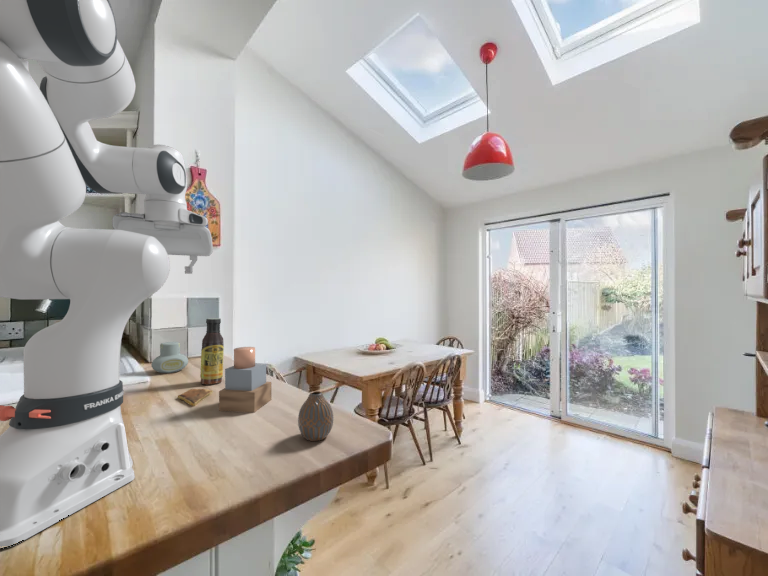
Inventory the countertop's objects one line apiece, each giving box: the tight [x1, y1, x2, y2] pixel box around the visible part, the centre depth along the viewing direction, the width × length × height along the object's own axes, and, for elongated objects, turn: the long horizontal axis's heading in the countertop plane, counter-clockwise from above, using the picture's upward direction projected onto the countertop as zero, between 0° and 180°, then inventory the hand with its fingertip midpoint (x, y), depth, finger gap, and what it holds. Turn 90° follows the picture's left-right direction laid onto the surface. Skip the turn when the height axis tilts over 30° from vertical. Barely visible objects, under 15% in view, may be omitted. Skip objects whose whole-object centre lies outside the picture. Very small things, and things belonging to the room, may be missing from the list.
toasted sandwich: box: [177, 388, 214, 407], centre depth 91 cm, size 11×8×2 cm
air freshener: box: [151, 341, 189, 374], centre depth 121 cm, size 11×8×10 cm
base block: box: [218, 381, 273, 413], centre depth 87 cm, size 9×9×5 cm
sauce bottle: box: [199, 317, 225, 386], centre depth 106 cm, size 6×6×20 cm
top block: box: [224, 362, 267, 391], centre depth 87 cm, size 7×7×5 cm
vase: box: [297, 390, 334, 442], centre depth 68 cm, size 7×7×9 cm
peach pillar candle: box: [233, 346, 256, 369], centre depth 87 cm, size 5×5×4 cm
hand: (166, 273), depth 84 cm, fingers open, 8 cm apart
